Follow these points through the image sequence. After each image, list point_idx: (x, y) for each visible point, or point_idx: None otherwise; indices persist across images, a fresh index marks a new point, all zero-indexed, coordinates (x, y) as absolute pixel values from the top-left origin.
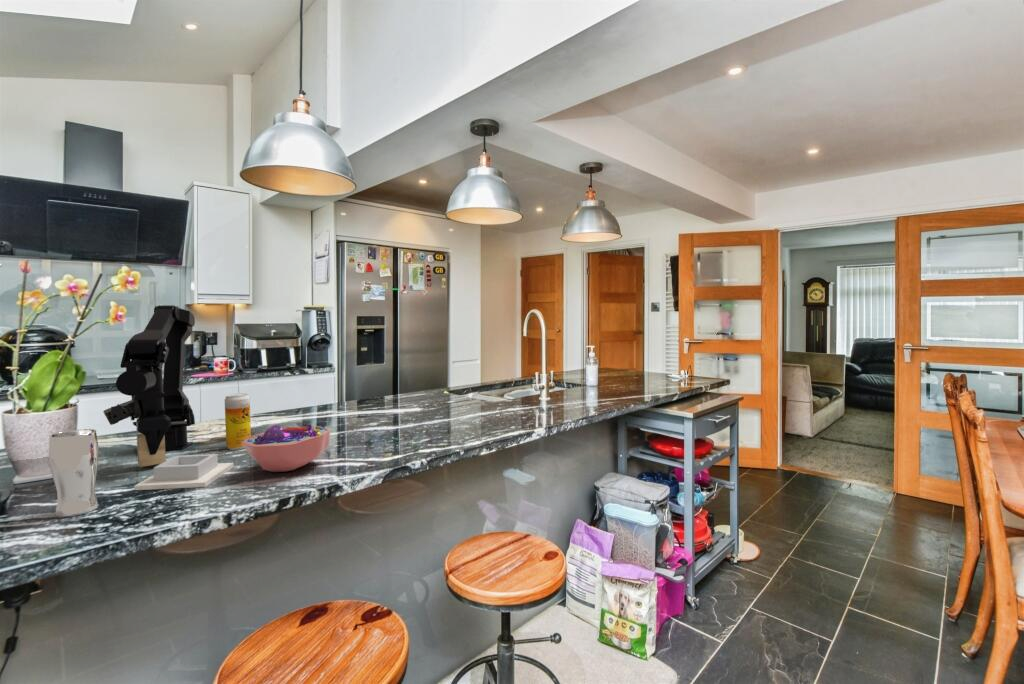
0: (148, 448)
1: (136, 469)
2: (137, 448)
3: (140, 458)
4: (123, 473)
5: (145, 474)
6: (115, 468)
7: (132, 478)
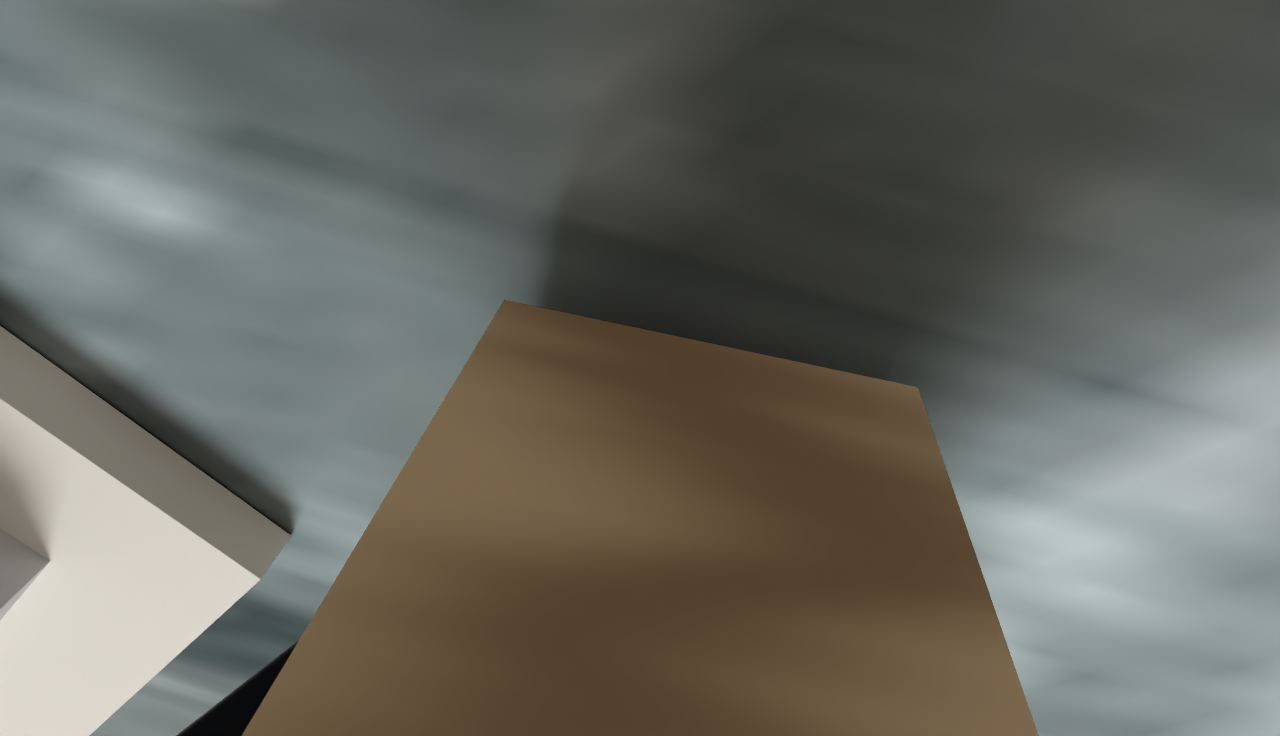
0: (259, 677)
1: (734, 269)
2: (923, 602)
3: (453, 401)
4: (645, 32)
5: (270, 254)
6: (1243, 39)
7: (143, 38)
